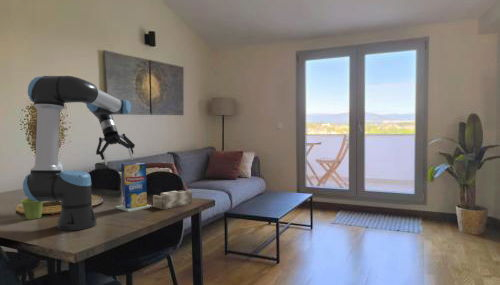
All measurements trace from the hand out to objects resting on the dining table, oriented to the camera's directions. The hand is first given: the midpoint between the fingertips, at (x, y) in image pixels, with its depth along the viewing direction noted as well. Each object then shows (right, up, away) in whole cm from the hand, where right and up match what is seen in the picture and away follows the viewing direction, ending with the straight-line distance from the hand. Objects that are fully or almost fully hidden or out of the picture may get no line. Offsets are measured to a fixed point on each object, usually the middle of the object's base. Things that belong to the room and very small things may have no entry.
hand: (119, 161), depth 193 cm
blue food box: (+10, -23, -6) cm, 26 cm away
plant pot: (-31, -25, -25) cm, 47 cm away
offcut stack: (+28, -22, 0) cm, 35 cm away
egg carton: (+29, -23, -1) cm, 37 cm away
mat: (+10, -24, -6) cm, 26 cm away
